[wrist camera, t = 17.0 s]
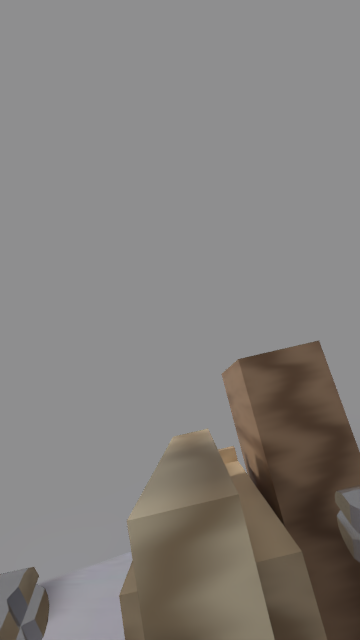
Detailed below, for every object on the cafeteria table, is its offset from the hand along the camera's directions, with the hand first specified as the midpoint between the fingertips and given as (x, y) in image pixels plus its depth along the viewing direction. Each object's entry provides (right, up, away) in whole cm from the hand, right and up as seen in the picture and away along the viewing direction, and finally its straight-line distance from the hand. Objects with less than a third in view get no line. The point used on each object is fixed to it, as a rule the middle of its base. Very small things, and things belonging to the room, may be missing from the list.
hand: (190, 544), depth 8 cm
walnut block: (+15, -23, +19) cm, 33 cm away
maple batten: (+1, -7, +9) cm, 12 cm away
